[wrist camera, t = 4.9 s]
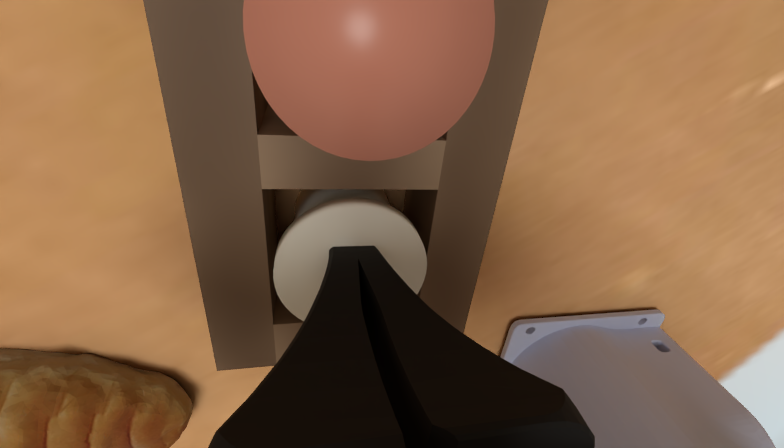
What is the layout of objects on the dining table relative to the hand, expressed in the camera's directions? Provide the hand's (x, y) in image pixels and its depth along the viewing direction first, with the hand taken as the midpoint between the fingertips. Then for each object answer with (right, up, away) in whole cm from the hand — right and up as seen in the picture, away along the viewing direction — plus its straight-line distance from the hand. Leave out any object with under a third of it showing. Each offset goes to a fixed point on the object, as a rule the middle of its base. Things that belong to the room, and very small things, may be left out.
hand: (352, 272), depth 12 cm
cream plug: (-1, +2, +3) cm, 4 cm away
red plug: (0, +7, -1) cm, 7 cm away
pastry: (-14, -6, +6) cm, 16 cm away
